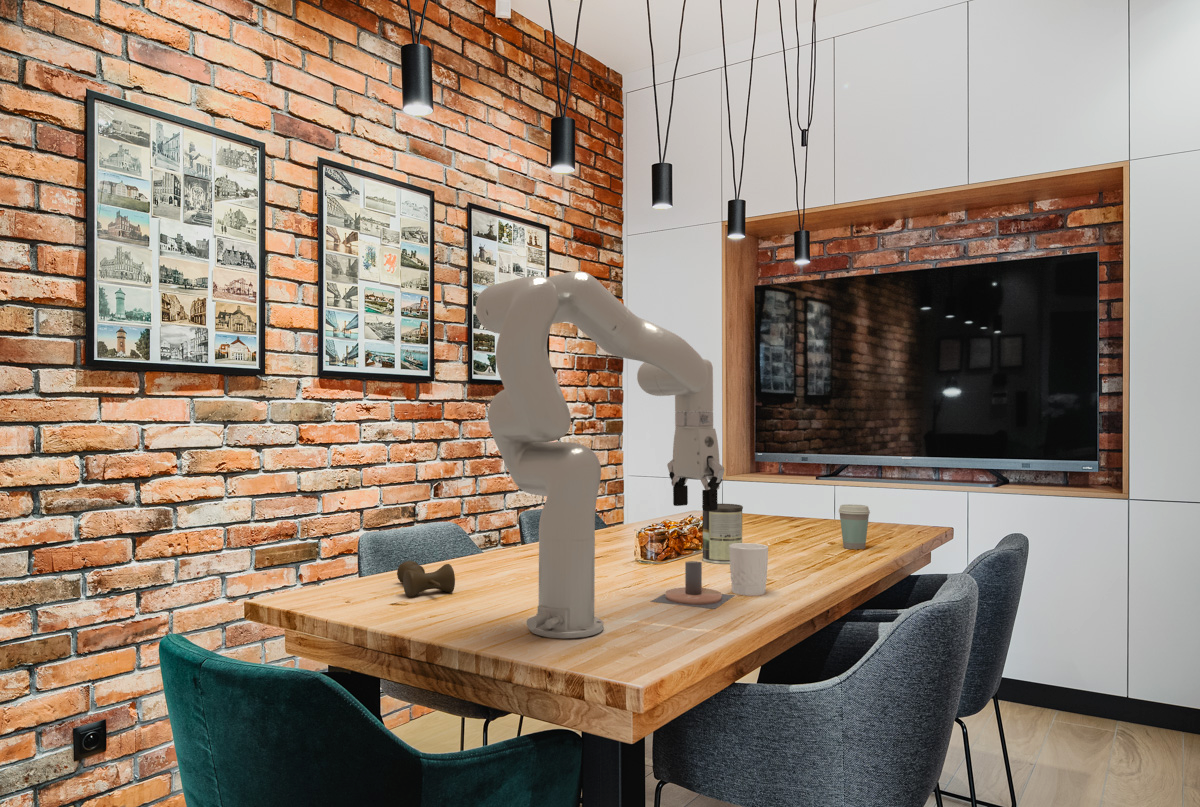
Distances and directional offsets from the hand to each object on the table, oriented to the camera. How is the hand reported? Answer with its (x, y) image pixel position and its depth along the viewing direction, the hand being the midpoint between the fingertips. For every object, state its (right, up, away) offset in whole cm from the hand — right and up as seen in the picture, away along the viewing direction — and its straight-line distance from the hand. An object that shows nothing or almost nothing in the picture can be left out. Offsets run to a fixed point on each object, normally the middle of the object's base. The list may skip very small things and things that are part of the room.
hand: (694, 507), depth 154 cm
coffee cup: (+53, -21, +66) cm, 87 cm away
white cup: (+12, -19, +6) cm, 23 cm away
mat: (0, -18, -1) cm, 18 cm away
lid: (0, -18, -1) cm, 18 cm away
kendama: (-56, -19, +8) cm, 59 cm away
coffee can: (+13, -20, +45) cm, 51 cm away
